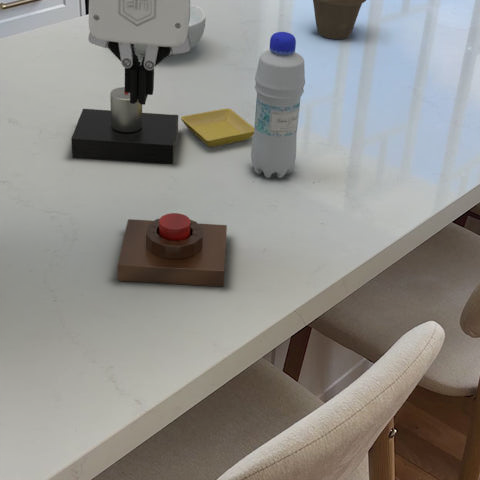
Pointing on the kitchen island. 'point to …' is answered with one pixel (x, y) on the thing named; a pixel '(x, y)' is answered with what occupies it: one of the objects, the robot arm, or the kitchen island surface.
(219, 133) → the saucer
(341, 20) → the flower pot
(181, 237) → the button
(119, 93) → the dial knob
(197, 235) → the button block
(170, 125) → the black knob base
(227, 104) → the kitchen island surface
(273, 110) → the bottle
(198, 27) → the cereal bowl
